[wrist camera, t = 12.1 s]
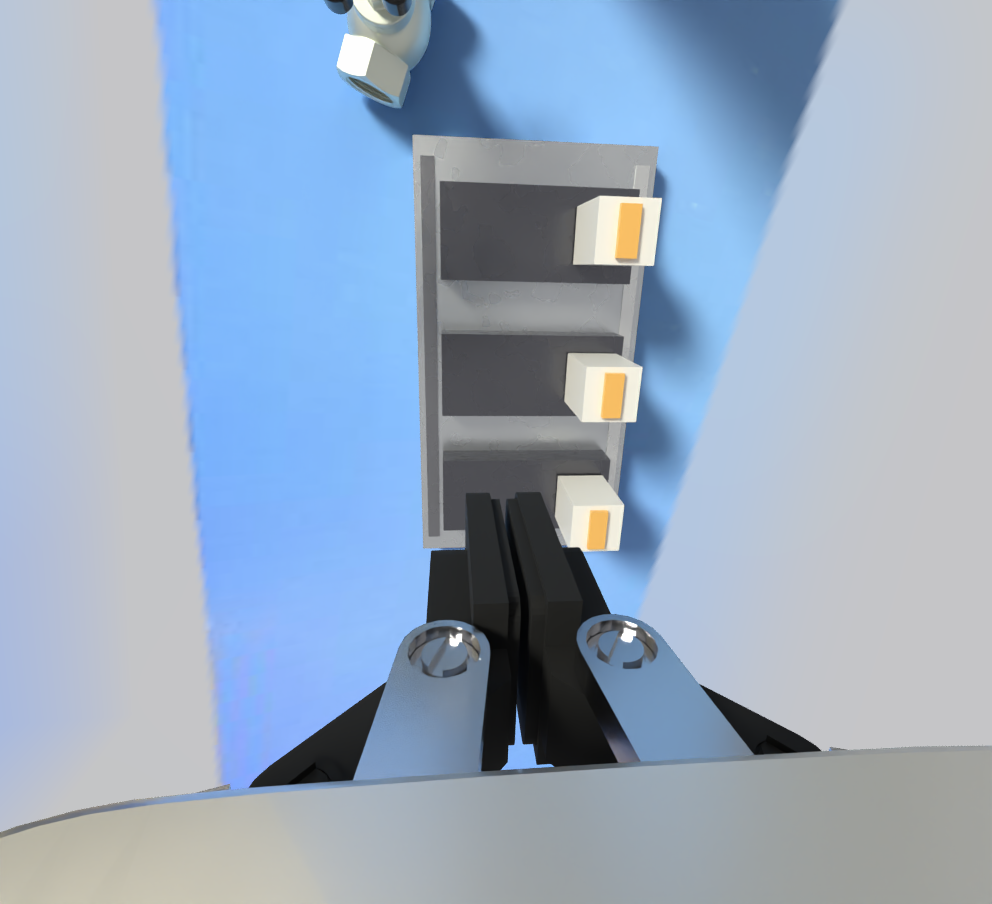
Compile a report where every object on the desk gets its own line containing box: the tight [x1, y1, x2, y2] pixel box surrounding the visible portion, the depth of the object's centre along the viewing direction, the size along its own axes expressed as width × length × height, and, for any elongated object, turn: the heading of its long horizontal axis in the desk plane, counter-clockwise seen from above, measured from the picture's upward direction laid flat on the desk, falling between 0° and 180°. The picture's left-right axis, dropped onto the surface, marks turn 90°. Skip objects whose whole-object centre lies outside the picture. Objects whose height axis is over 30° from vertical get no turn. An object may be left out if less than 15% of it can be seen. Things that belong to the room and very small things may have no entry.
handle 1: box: [573, 196, 662, 266], centre depth 26 cm, size 3×3×5 cm
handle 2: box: [555, 475, 624, 551], centre depth 32 cm, size 3×3×5 cm
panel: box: [412, 135, 658, 548], centre depth 33 cm, size 26×14×4 cm, turn 179°
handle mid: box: [564, 353, 643, 422], centre depth 29 cm, size 3×3×5 cm
